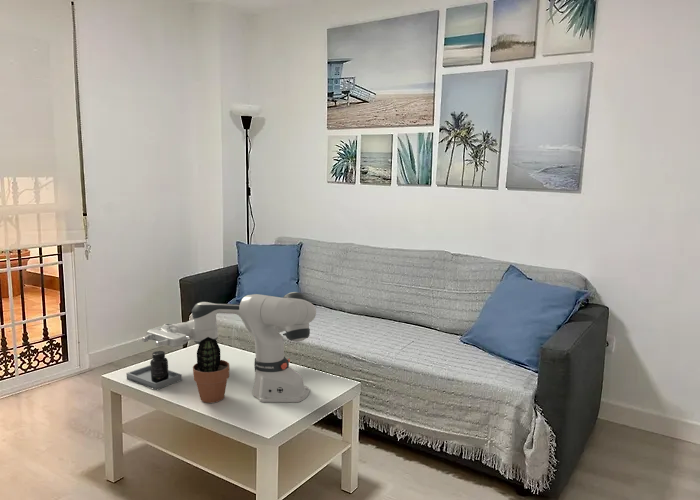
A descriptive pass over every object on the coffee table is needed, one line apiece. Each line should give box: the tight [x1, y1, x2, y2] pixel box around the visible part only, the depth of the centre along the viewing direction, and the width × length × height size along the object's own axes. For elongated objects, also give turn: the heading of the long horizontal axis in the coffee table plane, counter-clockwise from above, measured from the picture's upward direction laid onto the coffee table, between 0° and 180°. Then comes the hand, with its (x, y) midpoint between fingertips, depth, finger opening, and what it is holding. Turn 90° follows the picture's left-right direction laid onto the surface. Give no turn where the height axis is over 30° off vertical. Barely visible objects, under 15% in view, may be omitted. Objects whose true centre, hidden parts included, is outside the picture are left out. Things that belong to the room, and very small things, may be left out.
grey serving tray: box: [126, 364, 183, 391], centre depth 225 cm, size 20×12×2 cm, turn 55°
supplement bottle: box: [149, 350, 169, 383], centre depth 221 cm, size 7×7×12 cm
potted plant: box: [192, 337, 230, 404], centre depth 205 cm, size 14×14×25 cm
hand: (149, 341), depth 222 cm, fingers open, 8 cm apart
